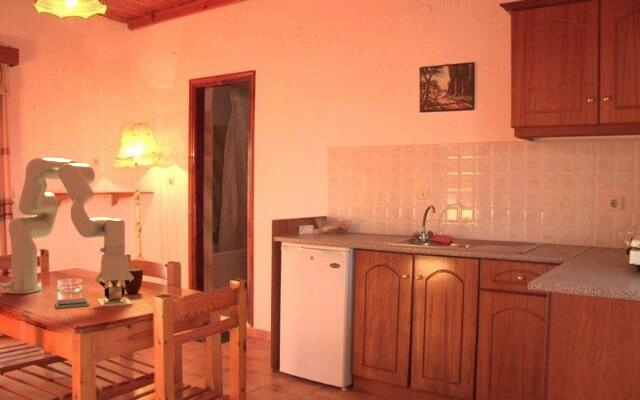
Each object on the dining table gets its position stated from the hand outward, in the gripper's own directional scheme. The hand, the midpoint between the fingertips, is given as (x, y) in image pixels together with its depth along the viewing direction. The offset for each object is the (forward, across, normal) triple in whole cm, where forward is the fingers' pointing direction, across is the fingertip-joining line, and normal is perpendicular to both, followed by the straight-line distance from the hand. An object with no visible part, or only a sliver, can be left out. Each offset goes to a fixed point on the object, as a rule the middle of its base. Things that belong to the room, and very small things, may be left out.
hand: (114, 297), depth 217 cm
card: (+2, 0, 0) cm, 2 cm away
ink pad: (+2, -15, +1) cm, 15 cm away
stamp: (+1, 0, 0) cm, 1 cm away
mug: (+2, +9, +16) cm, 18 cm away
